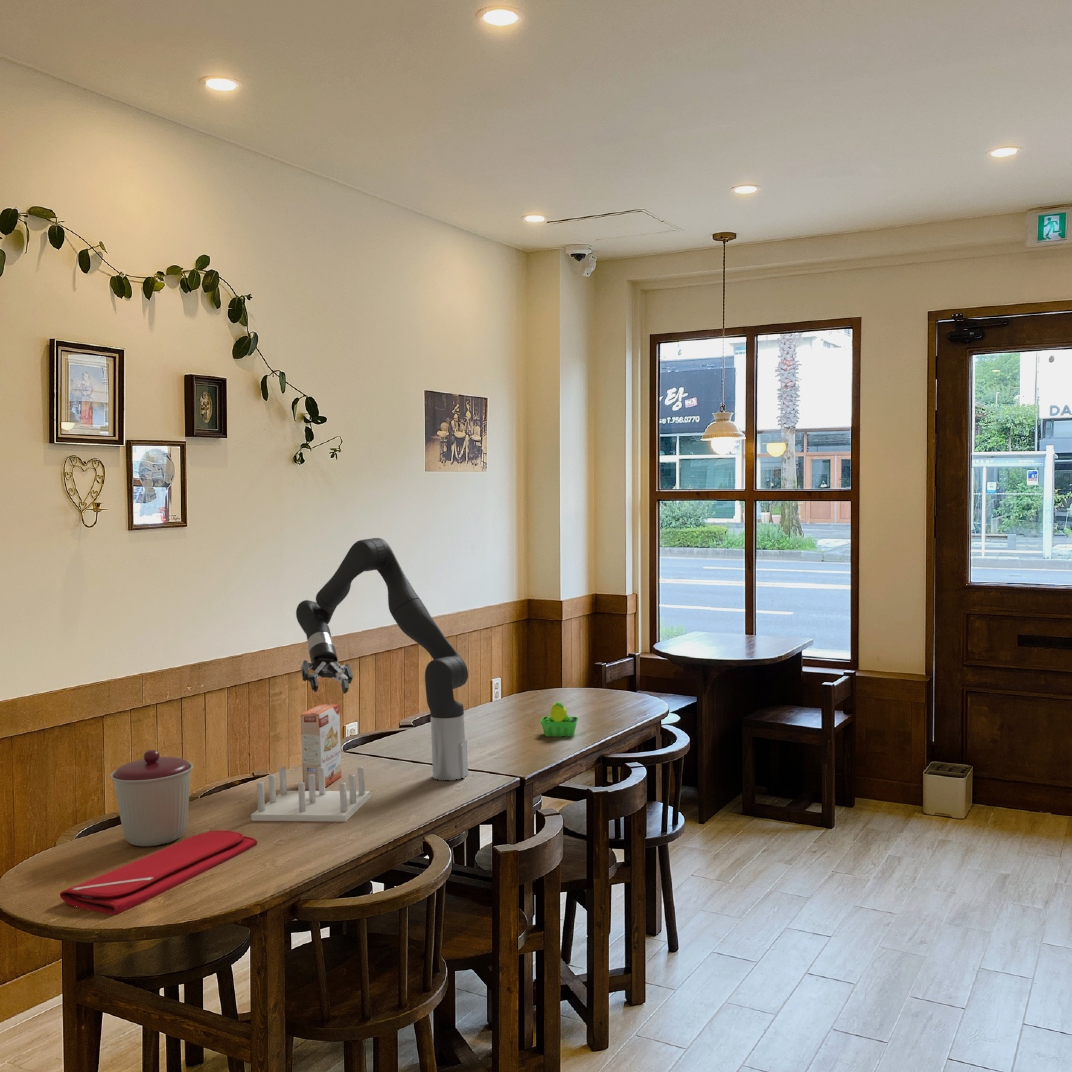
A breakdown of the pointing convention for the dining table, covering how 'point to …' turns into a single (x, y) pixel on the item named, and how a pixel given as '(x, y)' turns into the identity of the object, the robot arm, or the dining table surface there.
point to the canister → (153, 798)
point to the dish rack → (310, 800)
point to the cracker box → (321, 743)
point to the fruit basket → (559, 722)
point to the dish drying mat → (156, 872)
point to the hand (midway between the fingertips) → (331, 690)
